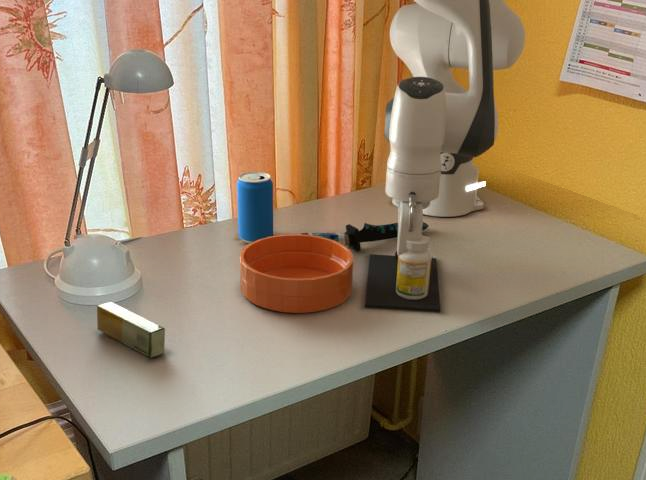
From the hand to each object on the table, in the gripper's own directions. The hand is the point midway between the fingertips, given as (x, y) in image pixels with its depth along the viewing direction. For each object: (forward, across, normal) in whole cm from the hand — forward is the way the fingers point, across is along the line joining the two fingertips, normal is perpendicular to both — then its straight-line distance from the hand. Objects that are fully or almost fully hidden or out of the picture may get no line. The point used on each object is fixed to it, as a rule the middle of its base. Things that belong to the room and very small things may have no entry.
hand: (405, 261), depth 137 cm
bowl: (+2, -9, +18) cm, 20 cm away
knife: (+2, +11, +7) cm, 13 cm away
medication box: (+2, -30, +39) cm, 49 cm away
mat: (+2, -4, 0) cm, 4 cm away
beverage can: (+2, +11, +28) cm, 30 cm away
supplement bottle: (+2, -9, -1) cm, 9 cm away
